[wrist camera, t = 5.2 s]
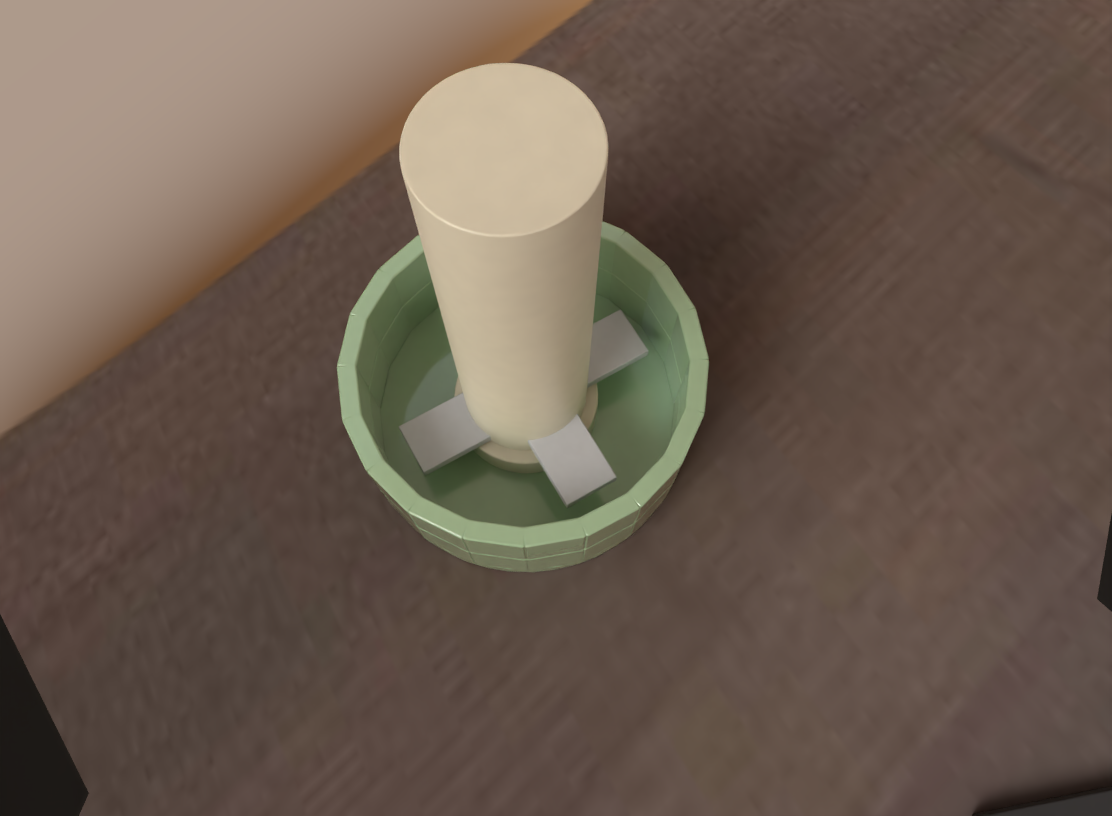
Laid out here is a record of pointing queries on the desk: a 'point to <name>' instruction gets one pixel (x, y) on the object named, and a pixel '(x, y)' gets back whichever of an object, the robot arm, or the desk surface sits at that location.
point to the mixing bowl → (507, 497)
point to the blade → (515, 271)
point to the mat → (1063, 806)
